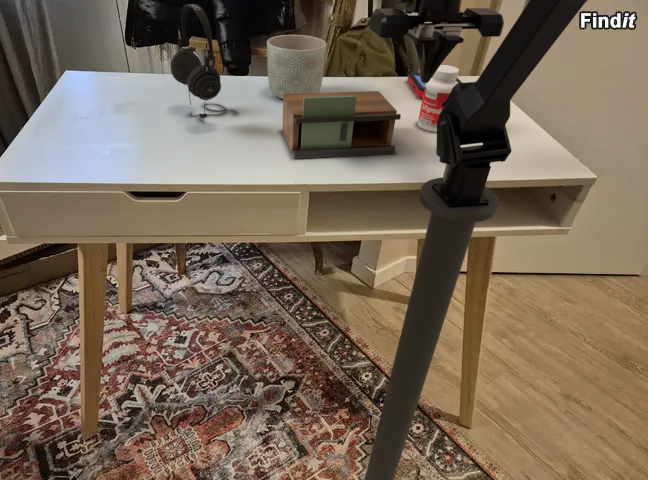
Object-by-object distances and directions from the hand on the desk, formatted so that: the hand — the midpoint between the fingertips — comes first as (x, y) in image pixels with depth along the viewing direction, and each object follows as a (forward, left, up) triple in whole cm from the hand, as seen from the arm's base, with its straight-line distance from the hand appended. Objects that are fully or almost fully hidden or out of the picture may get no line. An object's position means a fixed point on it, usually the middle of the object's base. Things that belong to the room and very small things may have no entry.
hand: (424, 82), depth 79 cm
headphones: (+22, +33, -13) cm, 42 cm away
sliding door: (+3, +14, -12) cm, 19 cm away
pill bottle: (+13, -10, -13) cm, 21 cm away
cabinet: (+8, +11, -13) cm, 19 cm away
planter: (+33, +14, -13) cm, 38 cm away
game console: (+33, -20, -13) cm, 40 cm away
